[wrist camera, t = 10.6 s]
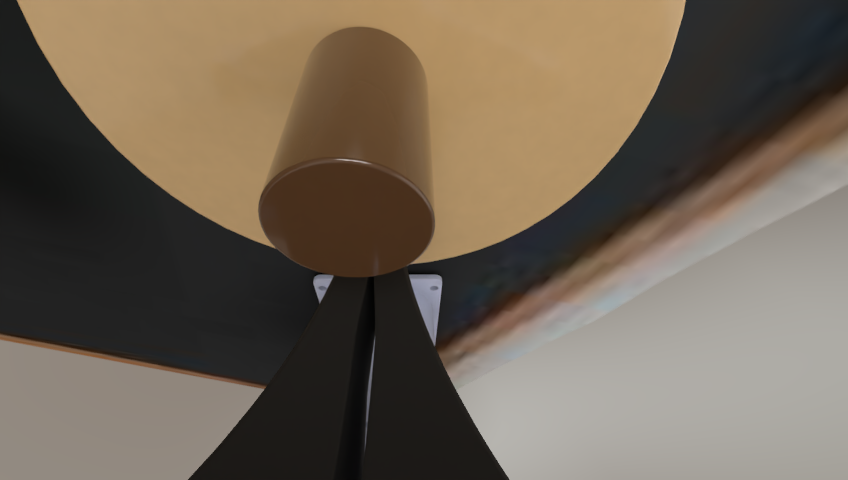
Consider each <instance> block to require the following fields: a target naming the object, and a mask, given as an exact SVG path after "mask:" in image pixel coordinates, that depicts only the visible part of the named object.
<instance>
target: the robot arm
mask: <svg viewBox="0 0 848 480" xmlns="http://www.w3.org/2000/svg"><path fill="white" fill-rule="evenodd" d="M313 284H314V287H315V291H316V294H317V297H318V300H319V306H318V308H317V309H316V311H315V313H314V315H313V316H312V318H311V320H310V322H309V323H308V325H307V327H306V329H305V330H304V332H303V334H302V335H301V337H300V339H299V340H298V342H297V343H296V345H295V346H294V348H293V350H292V351H291V353H290V354H289V356H288V357H287V358H286V360H285V361H284V363H283V364H282V366H281V367H280V369H279V370H278V371H277V373H276V374H275V376H274V377H273V378H272V380H271V381H270V383H269V384H268V385H267V387H266V388H265V389H264V391H263V392H262V393H261V395H260V396H259V397H258V399H257V400H256V401H255V403H254V404H253V405H252V406H251V408H250V409H249V410H248V411H247V413H246V414H245V415H244V416H243V417H242V419H241V420H240V421H239V422H238V424H237V425H236V426H235V427H234V428H233V430H232V431H231V432H230V433H229V434H228V436H227V437H226V438H225V439H224V440H223V442H222V443H221V444H220V445H219V446H218V447H217V448H216V450H215V451H214V452H213V453H212V454H211V455H210V456H209V457H208V459H206V461H205V462H204V463H203V464H202V465H201V466H200V467H199V468H198V469H197V471H196V472H195V473H194V474H193V475H192V476H191V477H190V478H189V479H188V480H509V478H508V477H507V475H506V474H505V472H504V471H503V469H502V468H501V466H500V465H499V463H498V461H497V460H496V458H495V457H494V455H493V454H492V452H491V450H490V449H489V447H488V446H487V444H486V442H485V441H484V439H483V437H482V436H481V434H480V432H479V431H478V429H477V427H476V426H475V424H474V422H473V420H472V419H471V417H470V415H469V413H468V411H467V409H466V408H465V406H464V404H463V403H462V400H461V399H460V397H459V395H458V393H457V391H456V389H455V388H454V386H453V384H452V382H451V380H450V378H449V376H448V374H447V372H446V370H445V368H444V366H443V364H442V361H441V359H440V357H439V355H438V353H437V351H436V348H435V341H436V333H437V324H438V315H439V307H440V298H441V289H442V277H441V276H439V275H435V274H409V273H408V269H407V266H406V267H404V268H402V269H399V270H397V271H394V272H391V273H388V274H384V275H379V276H374V277H362V278H351V277H339V276H333V275H317V276H315V277H314V281H313Z"/></svg>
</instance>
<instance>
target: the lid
mask: <svg viewBox="0 0 848 480" xmlns="http://www.w3.org/2000/svg"><path fill="white" fill-rule="evenodd" d="M685 1H686V0H17V2H18V4H19V6H20V8H21V10H22V12H23V14H24V16H25V19H26V21H27V23H28V25H29V27H30V29H31V31H32V33H33V35H34V37H35V39H36V42H37V44H38V45H39V47H40V49H41V50H42V52H43V53H44V55H45V57H46V58H47V60H48V62H49V63H50V65H51V66H52V68H53V70H54V71H55V73H56V75H57V76H58V78H59V79H60V81H61V83H62V84H63V86H64V87H65V88H66V90H67V91H68V92H69V93H70V95H71V96H72V97H73V99H74V100H75V101H76V103H77V104H78V105H79V107H80V108H81V109H82V111H83V112H84V113H85V115H86V116H87V117H88V119H89V120H90V121H91V122H92V123H93V124H94V125H95V126H96V127H97V128H98V130H99V131H100V132H101V133H102V134H103V135H104V136H105V137H106V138H107V139H108V141H109V142H110V143H111V144H112V145H113V146H114V147H115V148H116V149H117V150H118V151H119V152H120V153H121V154H122V155H123V156H125V157H126V158H127V159H128V160H129V161H130V162H131V163H132V164H133V165H134V166H135V167H136V168H138V169H139V170H140V171H141V172H142V173H143V174H144V175H146V176H147V177H148V178H149V179H151V180H152V181H153V182H155V183H156V184H157V185H158V186H160V187H161V188H162V189H164V190H165V191H166V192H167V193H169V194H170V195H171V196H173V197H174V198H176V199H177V200H179V201H181V202H182V203H184V204H185V205H187V206H188V207H190V208H191V209H193V210H194V211H196V212H197V213H199V214H201V215H203V216H204V217H206V218H208V219H210V220H212V221H214V222H215V223H217V224H219V225H221V226H223V227H225V228H227V229H229V230H231V231H233V232H235V233H238V234H240V235H242V236H244V237H247V238H249V239H251V240H254V241H256V242H259V243H262V244H265V245H267V246H270V247H273V248H276V249H277V250H279V251H280V252H281V253H282V254H283V255H285V256H286V257H288V258H289V259H290V260H292V261H294V262H296V263H298V264H299V265H301V266H304V267H306V268H308V269H311V270H314V271H317V272H320V273H324V274H328V275H333V276H339V277H351V278H362V277H374V276H379V275H384V274H388V273H391V272H394V271H397V270H399V269H402V268H404V267H406V266H408V265H409V264H417V263H425V262H432V261H437V260H442V259H447V258H452V257H456V256H460V255H463V254H466V253H470V252H473V251H477V250H480V249H482V248H485V247H488V246H490V245H493V244H495V243H498V242H501V241H503V240H505V239H507V238H509V237H511V236H513V235H515V234H517V233H519V232H521V231H523V230H525V229H527V228H529V227H530V226H532V225H534V224H535V223H537V222H539V221H540V220H542V219H544V218H545V217H547V216H548V215H550V214H551V213H553V212H554V211H555V210H557V209H558V208H559V207H561V206H562V205H563V204H565V203H566V202H567V201H569V200H570V199H571V198H573V197H574V196H575V195H576V194H577V193H578V192H579V191H580V190H581V189H583V188H584V187H585V186H586V185H587V184H588V183H589V182H590V181H591V180H592V179H594V178H595V177H596V175H597V174H598V173H599V172H600V171H601V170H602V169H603V168H604V167H605V165H606V164H607V163H608V162H609V161H610V160H611V159H612V158H613V156H614V155H615V154H616V153H617V152H618V150H619V149H620V147H621V146H622V145H623V143H624V142H625V141H626V139H627V138H628V136H629V135H630V134H631V132H632V131H633V130H634V128H635V127H636V125H637V123H638V122H639V120H640V118H641V116H642V115H643V113H644V111H645V110H646V108H647V106H648V104H649V103H650V101H651V99H652V97H653V96H654V94H655V91H656V89H657V87H658V84H659V82H660V80H661V78H662V75H663V73H664V71H665V68H666V66H667V64H668V61H669V59H670V57H671V53H672V50H673V47H674V43H675V40H676V37H677V33H678V30H679V27H680V23H681V20H682V17H683V12H684V7H685Z"/></svg>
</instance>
